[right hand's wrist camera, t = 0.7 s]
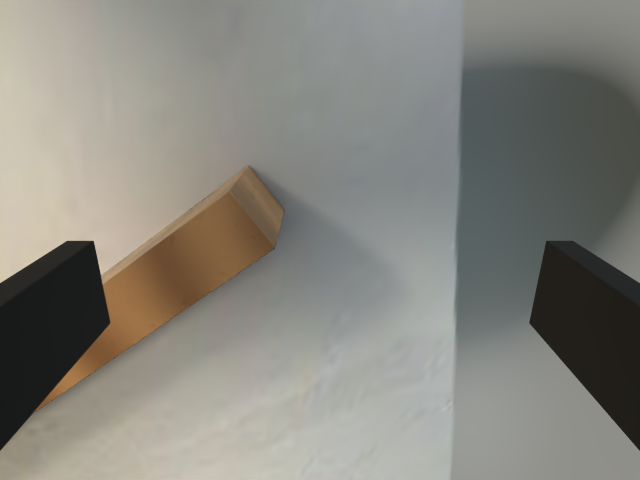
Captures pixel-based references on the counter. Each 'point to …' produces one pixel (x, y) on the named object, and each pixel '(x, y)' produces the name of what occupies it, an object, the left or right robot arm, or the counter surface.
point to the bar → (181, 267)
